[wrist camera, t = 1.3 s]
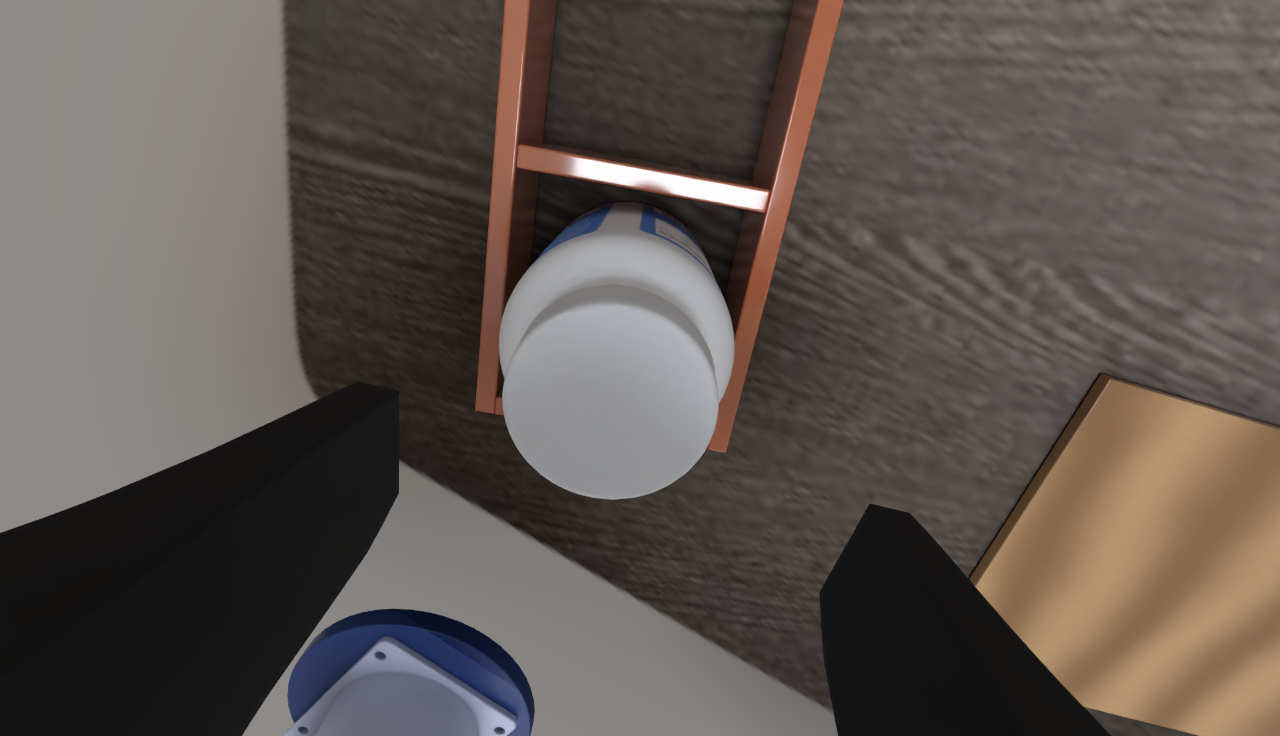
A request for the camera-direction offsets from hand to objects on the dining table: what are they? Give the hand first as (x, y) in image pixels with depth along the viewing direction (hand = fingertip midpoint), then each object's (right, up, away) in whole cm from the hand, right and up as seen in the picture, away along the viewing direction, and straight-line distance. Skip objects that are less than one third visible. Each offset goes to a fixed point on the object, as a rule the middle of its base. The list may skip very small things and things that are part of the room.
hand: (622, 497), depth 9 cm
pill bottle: (0, +5, +11) cm, 12 cm away
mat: (+26, -8, +15) cm, 31 cm away
